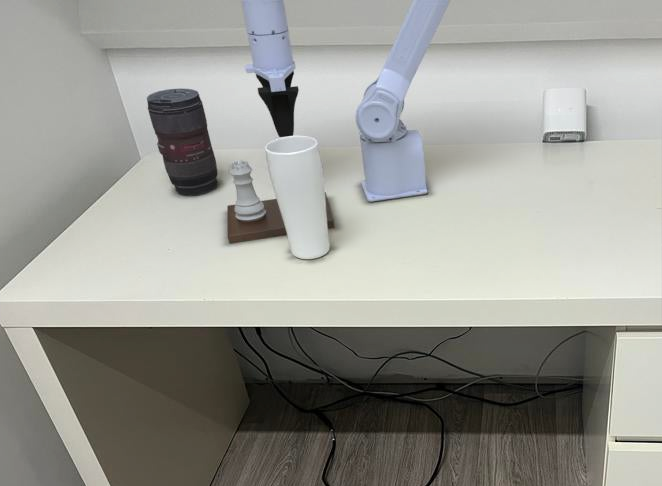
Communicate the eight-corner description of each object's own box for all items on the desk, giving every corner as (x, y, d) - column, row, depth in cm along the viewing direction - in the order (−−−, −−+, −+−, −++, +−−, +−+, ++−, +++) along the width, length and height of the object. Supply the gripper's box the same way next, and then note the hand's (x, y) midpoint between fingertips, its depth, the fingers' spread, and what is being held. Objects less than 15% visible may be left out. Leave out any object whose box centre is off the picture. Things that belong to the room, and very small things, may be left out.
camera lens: (208, 199, 119) (183, 103, 110) (163, 197, 120) (134, 102, 111) (231, 179, 125) (208, 87, 116) (187, 177, 127) (161, 86, 118)
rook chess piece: (272, 211, 111) (261, 159, 106) (256, 224, 108) (244, 171, 103) (246, 209, 112) (234, 157, 107) (230, 221, 109) (216, 168, 104)
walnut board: (326, 198, 117) (325, 191, 116) (334, 227, 108) (333, 220, 108) (229, 212, 114) (227, 205, 114) (229, 243, 106) (227, 235, 105)
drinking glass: (313, 267, 99) (292, 157, 90) (276, 256, 102) (252, 148, 93) (346, 246, 103) (329, 139, 94) (309, 237, 106) (289, 132, 97)
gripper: (238, 22, 110) (256, 116, 118) (239, 45, 98) (259, 146, 107) (286, 18, 111) (300, 111, 119) (293, 40, 100) (308, 141, 108)
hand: (284, 127), depth 113 cm, fingers open, 7 cm apart
